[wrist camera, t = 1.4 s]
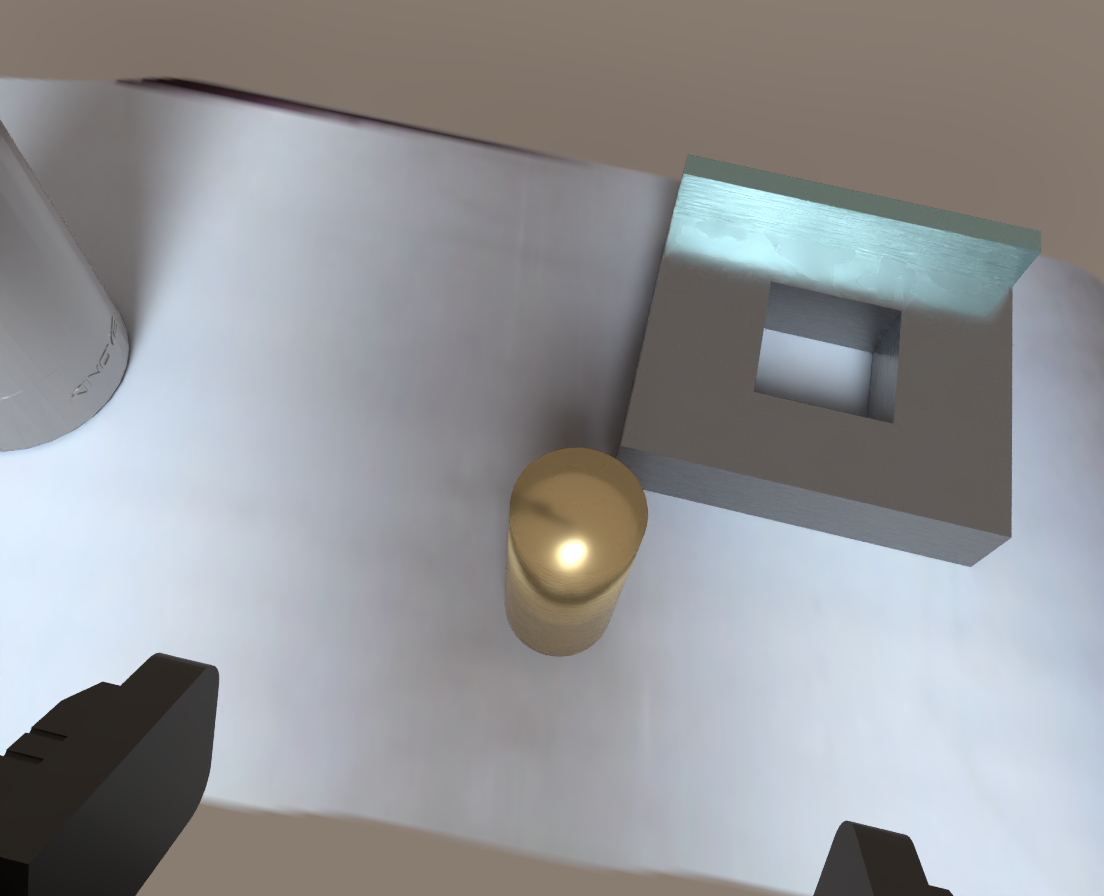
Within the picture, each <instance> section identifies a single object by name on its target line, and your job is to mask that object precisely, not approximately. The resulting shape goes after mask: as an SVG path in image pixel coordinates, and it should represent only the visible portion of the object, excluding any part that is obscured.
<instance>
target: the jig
mask: <svg viewBox="0 0 1104 896" xmlns="http://www.w3.org/2000/svg"><path fill="white" fill-rule="evenodd" d="M1040 253H1041V231H1037V230H1032V229H1028V228H1023V227H1019V226H1014V225H1010V224H1005V223H1001V222H996V221H991V220H987V219H982V218H978V217H973V216H969V215H964V214H959V213H955V212H950V211H945V210H941V209H936V208H932V207H927V206H923V205H918V204H913V203H909V202H904V201H900V200H895V199H890V198H886V197H881V196H877V195H872V194H867V193H863V192H858V191H854V190H849V189H845V188H839V187H835V186H831V185H826V184H822V183H817V182H813V181H808V180H803V179H799V178H794V177H790V176H785V175H780V174H776V173H771V172H767V171H762V170H757V169H753V168H748V167H744V166H739V165H734V164H730V163H725V162H720V161H716V160H711V159H707V158H702V157H698V156H693V155H689V154H688V156H687V160H686V164H685V168H684V171H683V175H682V179H681V183H680V187H679V191H678V194H677V198H676V202H675V206H674V210H673V214H672V218H671V221H670V225H669V229H668V233H667V237H666V241H665V245H664V249H663V254H662V258H661V263H660V267H659V272H658V276H657V280H656V285H655V289H654V294H653V298H652V303H651V307H650V311H649V316H648V320H647V325H646V329H645V333H644V338H643V342H642V347H641V351H640V356H639V360H638V364H637V369H636V373H635V378H634V382H633V386H632V391H631V395H630V400H629V404H628V409H627V413H626V417H625V422H624V426H623V431H622V435H621V440H620V444H619V448H618V453H617V457H616V459H617V460H618V461H620V462H621V463H622V464H624V465H625V466H626V467H627V468H628V469H629V470H630V471H631V472H632V473H633V474H634V476H635V477H636V478H637V480H638V482H639V483H640V485H641V487H642V489H645V490H649V491H653V492H657V493H662V494H666V495H670V496H674V497H678V498H683V499H687V500H691V501H695V502H699V503H704V504H708V505H712V506H716V507H720V508H725V509H729V510H733V511H737V512H742V513H746V514H750V515H754V516H758V517H763V518H767V519H771V520H775V521H779V522H784V523H788V524H792V525H796V526H801V527H805V528H809V529H813V530H817V531H822V532H826V533H830V534H834V535H838V536H843V537H847V538H851V539H855V540H859V541H864V542H868V543H872V544H876V545H881V546H885V547H889V548H893V549H897V550H902V551H906V552H910V553H914V554H918V555H923V556H927V557H931V558H935V559H939V560H944V561H948V562H952V563H956V564H961V565H965V566H969V567H971V566H973V565H974V564H976V563H977V562H978V561H980V560H981V559H983V558H984V557H985V556H987V555H988V554H989V553H991V552H992V551H994V550H995V549H996V548H998V547H999V546H1000V545H1002V544H1003V543H1005V542H1006V541H1007V540H1009V539H1010V538H1011V508H1012V286H1013V285H1014V284H1015V283H1016V282H1017V280H1018V279H1019V278H1020V277H1021V276H1022V274H1023V273H1024V272H1025V271H1026V270H1027V268H1028V267H1029V266H1030V265H1031V264H1032V262H1033V261H1034V260H1035V259H1036V258H1037V256H1038V255H1039V254H1040ZM764 328H766V329H771V330H775V331H779V332H784V333H788V334H793V335H797V336H802V337H806V338H810V339H815V340H819V341H824V342H828V343H832V344H837V345H841V346H846V347H850V348H854V349H859V350H863V351H868V352H872V353H873V360H872V371H871V383H870V394H869V406H868V417H867V418H866V417H862V416H857V415H853V414H848V413H844V412H840V411H835V410H831V409H827V408H822V407H818V406H814V405H809V404H805V403H801V402H796V401H792V400H788V399H783V398H779V397H775V396H770V395H766V394H762V393H757V392H754V388H755V381H756V375H757V368H758V362H759V355H760V349H761V342H762V336H763V329H764Z"/></svg>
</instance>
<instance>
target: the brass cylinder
mask: <svg viewBox="0 0 1104 896" xmlns="http://www.w3.org/2000/svg"><path fill="white" fill-rule="evenodd" d="M647 519H648V508H647V501H646V498H645V494H644V491H643V489H642V487H641V485H640V483H639V482H638V480H637V478H636V477H635V476H634V474H633V473H632V472H631V471H630V470H629V469H628V468H627V467H626V466H625V465H624V464H622V463H621V462H620V461H618V460H617V459H615V458H614V457H612V456H610V455H608V454H606V453H603V452H600V451H597V450H594V449H588V448H578V447H574V448H564V449H559V450H555V451H552V452H550V453H547V454H545V455H543V456H541V457H540V458H538V459H536V460H535V461H534V462H532V463H531V464H530V465H529V466H528V467H527V468H526V469H525V470H524V471H523V472H522V474H521V475H520V477H519V478H518V480H517V482H516V484H515V486H514V489H513V491H512V495H511V500H510V514H509V536H508V557H507V579H506V601H505V606H506V614H507V618H508V621H509V624H510V626H511V628H512V630H513V631H514V633H515V634H516V636H517V637H518V638H519V639H520V640H521V641H522V642H523V643H524V644H525V645H527V646H528V647H530V648H531V649H533V650H535V651H537V652H539V653H542V654H545V655H550V656H569V655H574V654H577V653H580V652H582V651H584V650H586V649H588V648H589V647H590V646H592V645H593V644H594V643H595V642H596V641H597V640H598V639H599V638H600V637H601V636H602V634H603V633H604V631H605V629H606V627H607V625H608V623H609V620H610V618H611V615H612V613H613V610H614V608H615V605H616V603H617V600H618V598H619V596H620V593H621V591H622V588H623V586H624V583H625V581H626V578H627V576H628V573H629V571H630V568H631V566H632V563H633V561H634V558H635V556H636V553H637V551H638V548H639V546H640V543H641V541H642V538H643V536H644V533H645V530H646V526H647Z"/></svg>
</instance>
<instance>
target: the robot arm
mask: <svg viewBox="0 0 1104 896" xmlns="http://www.w3.org/2000/svg"><path fill="white" fill-rule="evenodd" d="M128 353H129V341H128V333H127V329H126V326H125V324H124V322H123V319H122V317H121V315H120V313H119V311H118V310H117V308H116V306H115V305H114V303H113V302H112V300H111V298H110V297H109V295H108V293H107V292H106V290H105V289H104V287H103V285H102V284H101V282H100V280H99V279H98V277H97V276H96V274H95V272H94V271H93V269H92V267H91V266H90V264H89V262H88V260H87V259H86V257H85V255H84V254H83V252H82V251H81V249H80V247H79V246H78V244H77V243H76V241H75V239H74V238H73V236H72V234H71V233H70V231H69V230H68V228H67V226H66V225H65V223H64V222H63V220H62V218H61V217H60V215H59V213H58V212H57V210H56V209H55V207H54V205H53V204H52V202H51V201H50V199H49V197H48V196H47V194H46V192H45V191H44V189H43V188H42V186H41V184H40V183H39V181H38V180H37V178H36V176H35V175H34V173H33V171H32V170H31V168H30V167H29V165H28V163H27V162H26V160H25V159H24V157H23V155H22V154H21V152H20V150H19V149H18V147H17V146H16V144H15V142H14V141H13V139H12V138H11V136H10V134H9V133H8V131H7V129H6V128H5V126H4V125H3V123H2V121H1V120H0V452H5V451H13V450H21V449H28V448H31V447H35V446H38V445H41V444H44V443H48V442H51V441H53V440H55V439H57V438H59V437H61V436H63V435H65V434H67V433H69V432H71V431H73V430H75V429H76V428H77V427H79V426H80V425H82V424H83V423H85V422H86V421H87V420H89V419H90V418H92V417H93V416H94V415H95V414H96V413H97V412H98V411H99V410H100V409H101V408H102V407H103V406H104V404H105V403H106V402H107V401H108V400H109V399H110V397H111V396H112V394H113V393H114V391H115V390H116V388H117V387H118V385H119V384H120V381H121V379H122V376H123V374H124V371H125V369H126V366H127V360H128ZM218 688H219V673H218V669H217V668H216V667H215V666H212V665H208V664H204V663H200V662H196V661H192V660H188V659H183V658H179V657H175V656H171V655H167V654H163V653H156V654H154V655H152V656H151V657H150V658H149V659H148V660H147V661H146V662H145V663H144V664H143V665H142V666H140V667H139V668H138V669H137V670H136V671H135V672H134V673H133V674H132V675H131V676H130V677H129V678H128V679H127V680H126V681H125V682H124V683H123V684H122V685H121V686H119V685H115V684H110V683H106V682H101V683H99V684H97V685H95V686H92V687H90V688H88V689H86V690H84V691H81V692H79V693H77V694H75V695H73V696H71V697H68V698H66V699H64V700H62V701H61V702H59V703H58V704H57V705H56V706H55V707H54V708H53V709H52V710H50V711H49V712H48V713H47V714H46V715H45V716H44V717H43V718H41V719H40V720H39V721H38V722H37V723H36V724H35V725H34V726H33V727H32V728H31V731H30V733H25V734H24V735H22V736H21V737H20V738H19V739H18V740H17V741H16V742H15V743H13V744H12V745H11V746H10V747H9V748H8V749H7V751H6V753H5V755H4V756H1V755H0V896H135V895H136V894H137V892H138V891H139V890H140V889H141V887H142V886H143V884H144V883H145V882H146V880H147V879H148V877H149V876H150V875H151V873H152V872H153V870H154V869H155V867H156V866H157V865H158V863H159V862H160V861H161V859H162V858H163V857H164V855H165V854H166V852H167V851H168V850H169V848H170V847H171V846H172V844H173V843H174V841H175V840H176V839H177V837H178V835H179V834H180V833H181V832H182V830H183V829H184V827H185V826H186V825H187V823H188V822H189V820H190V819H191V817H192V816H193V814H194V812H195V811H196V809H197V807H198V805H199V803H200V801H201V798H202V796H203V793H204V791H205V788H206V785H207V781H208V777H209V773H210V768H211V759H212V749H213V739H214V729H215V719H216V709H217V698H218ZM813 896H953V895H952V893H951V892H950V891H949V890H947V889H943V888H938V887H934V886H930V885H929V884H928V882H927V879H926V876H925V874H924V871H923V868H922V866H921V863H920V860H919V858H918V855H917V852H916V849H915V847H914V844H913V842H912V840H911V839H910V837H908V836H907V835H904V834H900V833H896V832H892V831H888V830H884V829H880V828H875V827H871V826H867V825H863V824H859V823H855V822H851V821H844V822H843V823H842V824H841V825H840V826H839V828H838V830H837V832H836V835H835V837H834V840H833V843H832V845H831V848H830V851H829V854H828V857H827V859H826V862H825V865H824V868H823V870H822V873H821V876H820V879H819V882H818V884H817V887H816V890H815V893H814V895H813Z"/></svg>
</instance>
